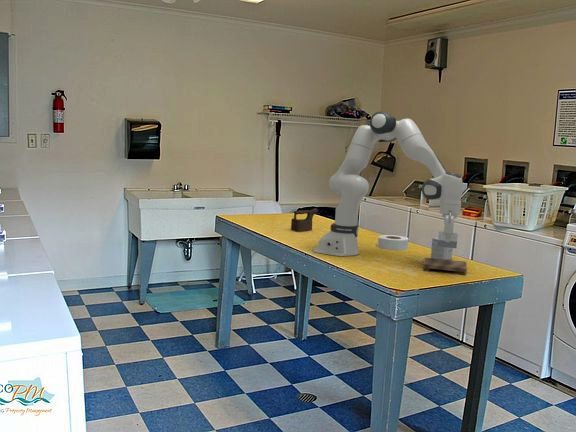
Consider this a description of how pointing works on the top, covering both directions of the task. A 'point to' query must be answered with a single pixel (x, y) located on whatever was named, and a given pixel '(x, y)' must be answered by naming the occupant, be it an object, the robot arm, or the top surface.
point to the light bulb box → (440, 251)
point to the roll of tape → (393, 242)
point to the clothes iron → (303, 221)
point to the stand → (445, 265)
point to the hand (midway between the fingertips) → (447, 240)
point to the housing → (450, 244)
